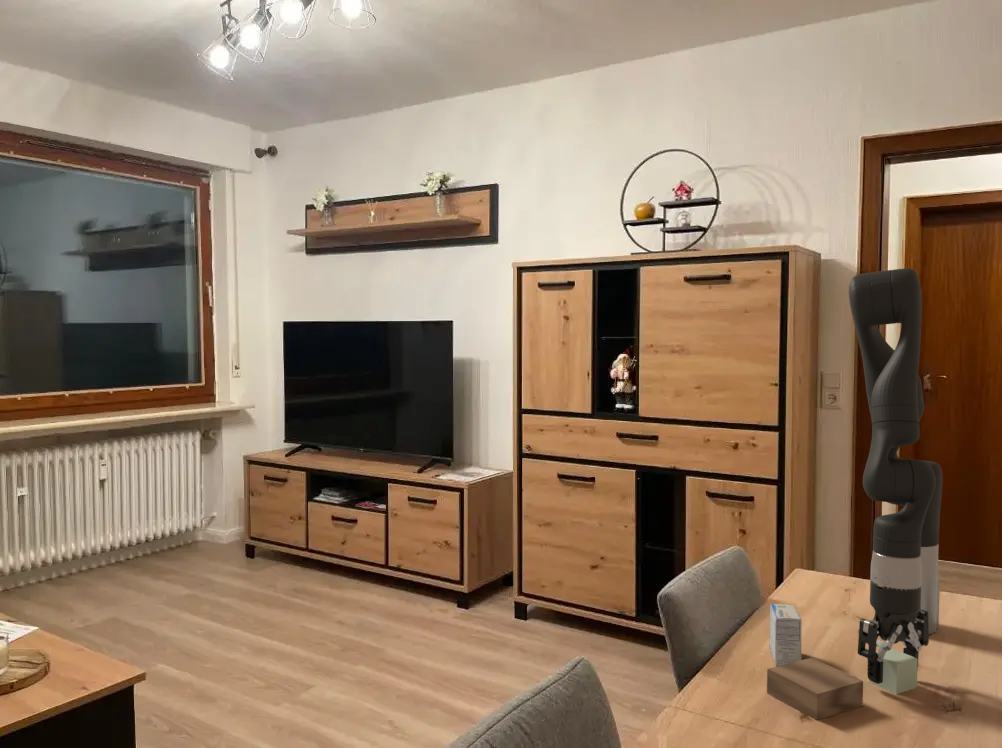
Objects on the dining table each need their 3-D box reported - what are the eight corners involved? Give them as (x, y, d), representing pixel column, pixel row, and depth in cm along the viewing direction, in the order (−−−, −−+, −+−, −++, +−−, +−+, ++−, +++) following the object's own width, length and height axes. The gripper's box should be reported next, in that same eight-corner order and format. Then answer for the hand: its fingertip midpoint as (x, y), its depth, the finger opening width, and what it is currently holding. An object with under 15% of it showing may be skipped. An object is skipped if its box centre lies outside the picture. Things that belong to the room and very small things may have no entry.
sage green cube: (889, 676, 135) (890, 647, 135) (916, 688, 131) (917, 658, 131) (869, 682, 133) (870, 653, 133) (896, 694, 129) (896, 664, 128)
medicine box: (801, 668, 138) (802, 619, 138) (774, 666, 139) (775, 617, 139) (794, 651, 146) (795, 604, 146) (768, 649, 147) (769, 602, 146)
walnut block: (811, 681, 133) (811, 657, 133) (862, 706, 124) (863, 681, 124) (766, 693, 129) (767, 668, 129) (816, 720, 120) (817, 693, 120)
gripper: (904, 568, 138) (901, 660, 138) (846, 579, 131) (843, 676, 132) (945, 580, 131) (942, 677, 132) (886, 592, 124) (883, 694, 125)
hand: (892, 676), depth 132 cm, fingers open, 8 cm apart
